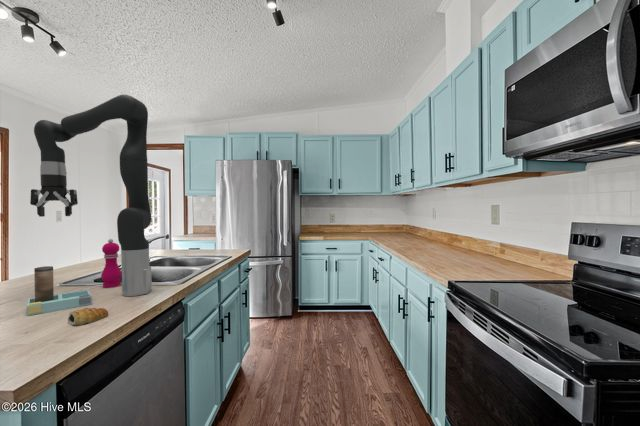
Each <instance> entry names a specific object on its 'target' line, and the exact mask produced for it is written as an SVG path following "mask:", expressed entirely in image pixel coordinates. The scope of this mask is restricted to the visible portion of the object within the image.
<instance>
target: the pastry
mask: <svg viewBox="0 0 640 426" xmlns="http://www.w3.org/2000/svg"><path fill="white" fill-rule="evenodd" d="M108 311H109V310H107V309H106V308H103V307H99V308H97V307H89V308H88V307H84V308H82V309H77V310H75V311H74V310H73V311H70V312H69V315H68V316H67V322H68V324H69V325H73V326H82V325H85V324H87V323H94V322H95V321H99V320H102V319H104V318H106V317H108V315H109V312H108Z"/></svg>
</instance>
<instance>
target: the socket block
mask: <svg viewBox="0 0 640 426" xmlns="http://www.w3.org/2000/svg"><path fill="white" fill-rule="evenodd" d="M89 305H90V306H91V305H92V294H91V292H90V290H89V289H86V290H85V289H84V290H79V291H71V292H65V293H59V294H54V300H52V301H45V302H35V297H33V298H28V299H27V304H26V316H27V317H29V316H34V315H41V314H46V313H51V312H57V311H62V310H63V311H64V310H68V309H73V308H78V307H83V306H89Z"/></svg>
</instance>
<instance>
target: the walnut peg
mask: <svg viewBox="0 0 640 426" xmlns="http://www.w3.org/2000/svg"><path fill="white" fill-rule="evenodd" d="M33 272H34V298H35V302H45V301H52V300H54V295H55V294H54V266H53V265H51V266H49V265H48V266H47V265H46V266H40V267H35V268H34V271H33Z"/></svg>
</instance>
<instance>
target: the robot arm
mask: <svg viewBox="0 0 640 426" xmlns="http://www.w3.org/2000/svg"><path fill="white" fill-rule="evenodd" d="M148 118H149V111H148V108H147V106H146V104H144V103H143V101H141V100H139V99H137V98H135V97H133V96H131V95H130V94H119V95H117V96H115V97H113V98H109V100H106V101H104V102H102V103H101V104H99V105H97V106H94V107H92V108H90V109H87V110H85V111H81V112H78V113H74V114H70V115H68V116H65V117H63V118H62V119H61V121H60V123H58V122H54V121H50V120H46V119H41V120H38V121H37V122H36V123H35V124H34V127H33V134H34V136H35V140H36V142H37V145H38V149H39V151H40V168H39V171H40V172H39V175H40V186H41V188H40V189H35V188H33V189H31V190H30V201H29V202H30V206H35V207H36V211H37V212H36V214H37V216H38V217H45V216H46V213H45V211H46V210H45V205H46V204H47V203H48V202H49V201H54V202H55V201H59V202H61V203H63V205H64V215H65V217H71V216H72V214H73V208H72V207H73V206H77V205H78V203H79V202H78V192H77V189H74V188H73V189H67V187H68V184H67V166H66V153H65V149H63V148H61V147H60V146H58V145H57V143H63V142H67V141H70V140H71V139H73V138H75V137H76V136H77V135H82V134H85V133H88V132H91V131H94V130H96V129H97V128H98V127H100V126H101V125H102V124H103V123H105V122H107V121H111V120H120V119H121V120H122V121H126V127H127V136H126V140H125V142H124V144H123V145H122V148H121V150H120V153H119V173H120V176H121V179H122V182H123V184H124V187H125V189H126V192H127V196H128V197H127V198H128V207H125V208H123V209H122V210H121V211H119V213H118V215H117V218H116V219H117V220H116V226H117V228H116V229H117V238H118V243H119V245H120V256H121V257H120V259H121V261H120V262H121V272H122V276H121V292H122V296H123V297H135V296H136V297H137V296H141V295H147V294H149V293H150V292H151V291H152V290H153V289H152V288H153V287H152V286H153V285H152V284H153V282H152V266H150V241H149V240H148V239H147V238H146V237H145V230H146V229H147V228H149V226H150V225H151V222H152V213H151V212H152V211H151V206H150V199H149V177H148V176H149V174H148V173H149V169H148V168H149V167H148V151H147V150H148V149H147V148H148V145H147V142H148V141H147V135H148V134H147V132H148V120H149V119H148ZM40 194H41V195H42V196H41V197H40ZM67 195H69V197H70V198H68V197H67ZM39 197H40V198H39Z"/></svg>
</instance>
